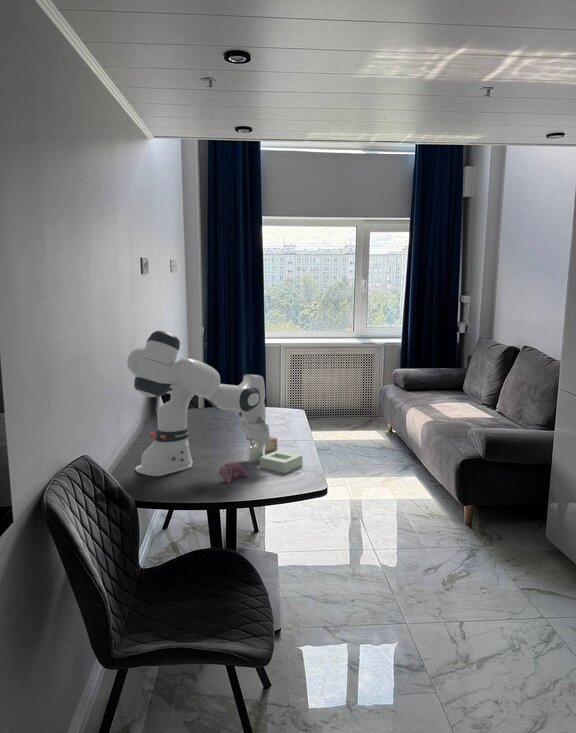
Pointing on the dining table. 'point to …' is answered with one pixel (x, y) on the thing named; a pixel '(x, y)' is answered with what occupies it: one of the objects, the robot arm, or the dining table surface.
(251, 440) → the grey rectangular block
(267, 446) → the round beech peg
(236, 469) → the video game controller
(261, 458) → the slot block
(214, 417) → the dining table surface
